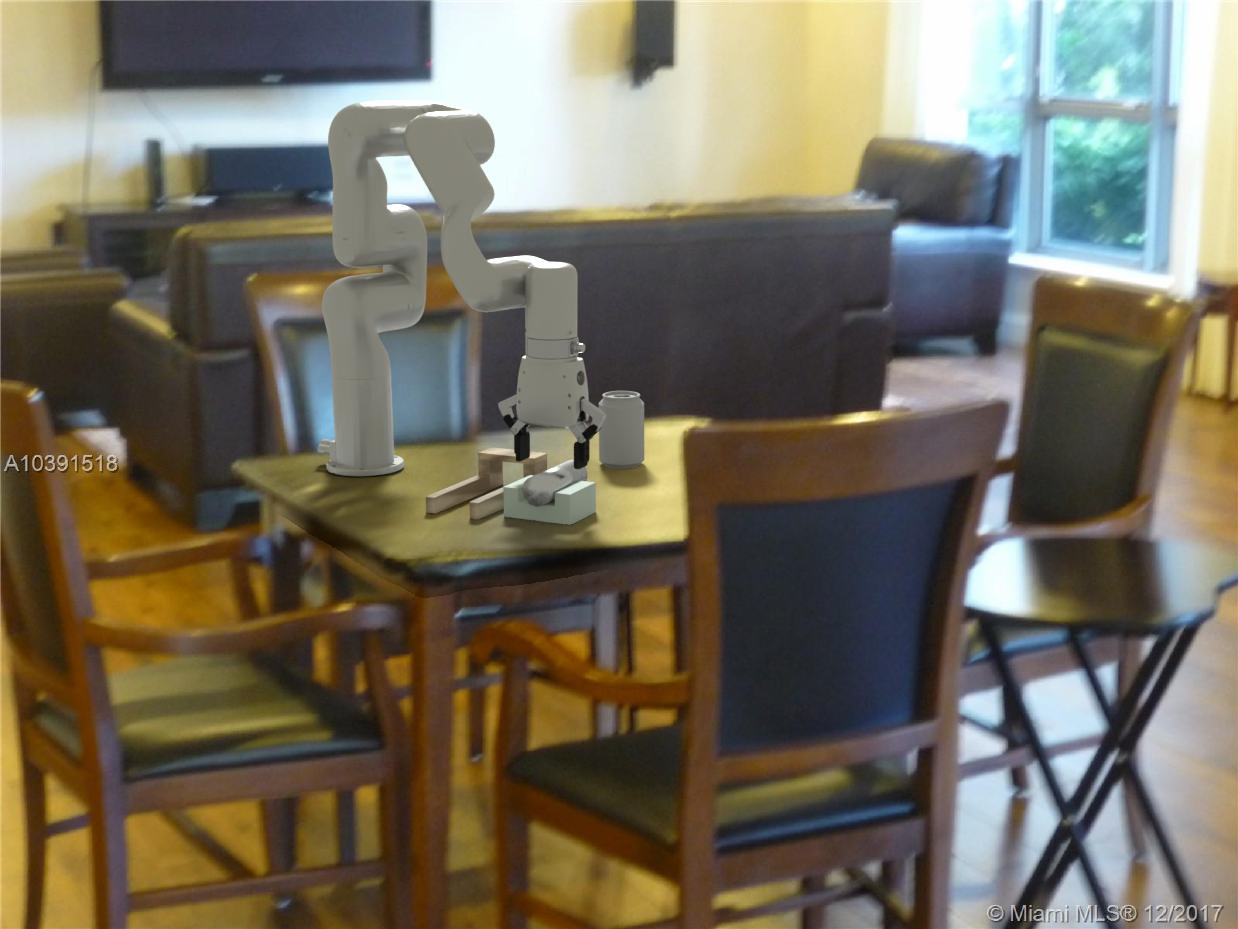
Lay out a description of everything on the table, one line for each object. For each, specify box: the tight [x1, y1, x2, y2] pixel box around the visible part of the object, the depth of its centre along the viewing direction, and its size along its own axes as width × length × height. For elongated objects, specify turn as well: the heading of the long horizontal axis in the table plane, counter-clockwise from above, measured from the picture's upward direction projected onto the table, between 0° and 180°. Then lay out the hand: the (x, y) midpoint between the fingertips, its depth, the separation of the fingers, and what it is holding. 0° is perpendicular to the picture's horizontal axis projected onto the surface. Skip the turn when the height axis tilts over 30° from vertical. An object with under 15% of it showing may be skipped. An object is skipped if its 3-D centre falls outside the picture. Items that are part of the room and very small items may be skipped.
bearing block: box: [425, 447, 548, 520], centre depth 258 cm, size 10×20×6 cm, turn 154°
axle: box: [522, 458, 589, 507], centre depth 250 cm, size 12×4×4 cm, turn 154°
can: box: [598, 390, 645, 470], centre depth 280 cm, size 8×8×12 cm
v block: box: [503, 475, 597, 526], centre depth 251 cm, size 11×8×4 cm
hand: (551, 463), depth 251 cm, fingers open, 9 cm apart
